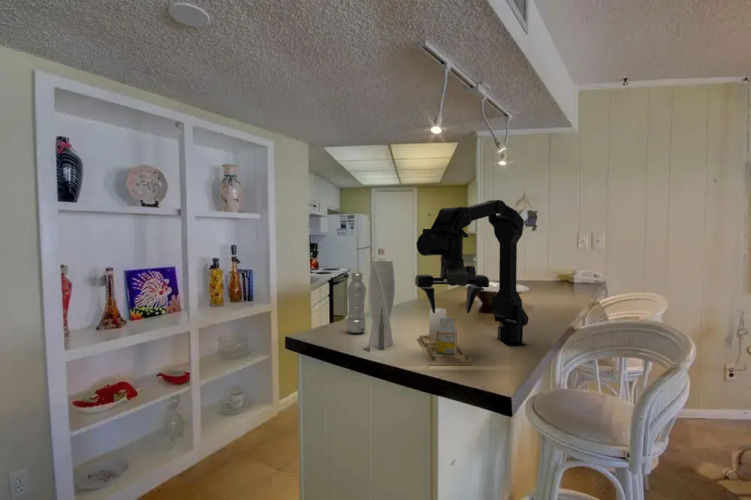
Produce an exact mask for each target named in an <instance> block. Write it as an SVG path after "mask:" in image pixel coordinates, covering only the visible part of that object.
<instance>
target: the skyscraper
mask: <svg viewBox="0 0 751 500" xmlns="http://www.w3.org/2000/svg"><path fill="white" fill-rule="evenodd" d="M371 253H372V254H371V264H370V269H369V271H370V272H369V278H368V302H369V304H368V305H369V310H370V315H371V319H372V320H371V326H370V332H369V339H368V342H367V343H368V344H367V346H365V347H364V348H362V349H363V351H367V352H371V346H372V347H373V346H374V347H377V350H379V351H384V350H385V348H387V347H390V346H394V341H393V334H392V327H391V320H390V318H391V315H392V311H393V306H394V302H395V301H394V300H395V286H396V285H395V272H394V270H395V269H394V263H393V258H392V257H389V259H387V257H383V256H379V257H376V259H375V252H374V251H372V252H371Z"/></svg>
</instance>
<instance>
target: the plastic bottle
mask: <svg viewBox="0 0 751 500" xmlns="http://www.w3.org/2000/svg"><path fill="white" fill-rule="evenodd" d="M350 279H351V281H350V282H349V284H348V286H347V290H346V291H347V301H348V314H347V319H346V330H347V332H349V333H352V334H361V333H364V332H365V331H366V326H367V324H366V318H365V317H366V316H365V303H366V302H365V299H366V295H367V286H366V285H365V283H364V282H363V273H361V272H352V273H351V277H350Z"/></svg>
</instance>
